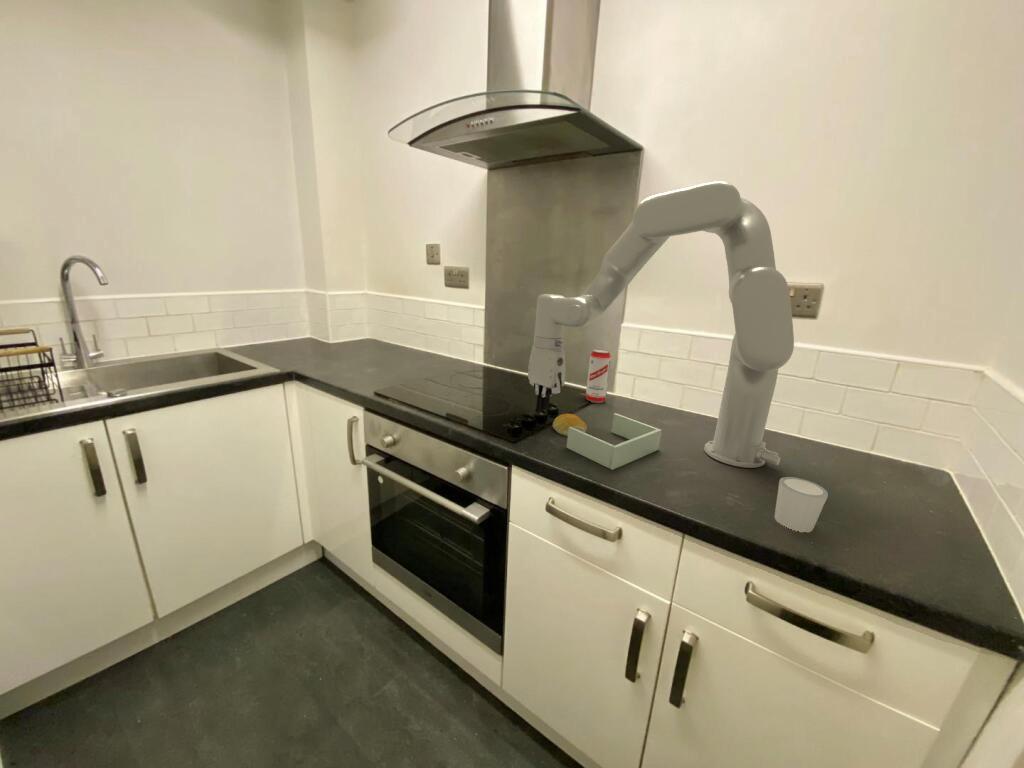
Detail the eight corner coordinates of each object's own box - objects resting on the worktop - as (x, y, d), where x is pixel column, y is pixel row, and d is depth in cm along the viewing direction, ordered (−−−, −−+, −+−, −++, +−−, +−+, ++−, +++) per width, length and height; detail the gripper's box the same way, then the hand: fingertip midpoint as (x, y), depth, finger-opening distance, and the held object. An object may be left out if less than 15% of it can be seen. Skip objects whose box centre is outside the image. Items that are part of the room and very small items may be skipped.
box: (658, 449, 98) (661, 429, 96) (612, 469, 87) (615, 447, 85) (613, 431, 107) (615, 413, 106) (566, 447, 96) (568, 427, 95)
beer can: (605, 404, 128) (612, 353, 123) (585, 402, 129) (590, 351, 124) (605, 398, 134) (611, 349, 129) (585, 396, 135) (590, 347, 130)
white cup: (798, 511, 75) (808, 476, 73) (827, 535, 69) (839, 498, 67) (761, 510, 75) (770, 475, 73) (787, 534, 68) (797, 496, 66)
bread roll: (577, 423, 112) (578, 409, 111) (590, 436, 104) (592, 421, 103) (547, 424, 110) (548, 410, 109) (558, 437, 102) (560, 422, 101)
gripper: (579, 347, 105) (572, 415, 111) (538, 337, 116) (533, 399, 121) (559, 349, 101) (552, 420, 106) (518, 338, 111) (514, 403, 117)
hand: (542, 409), depth 114 cm, fingers closed
